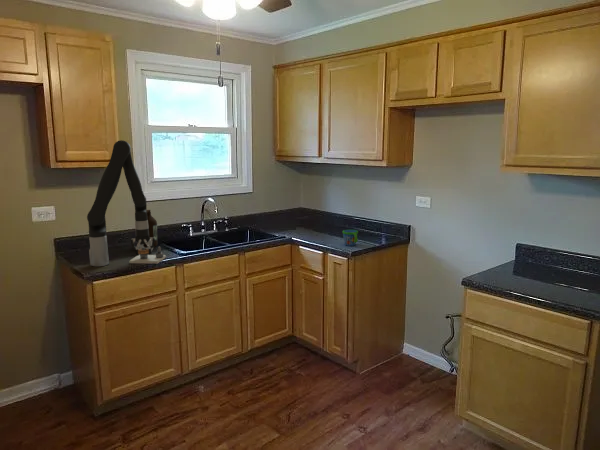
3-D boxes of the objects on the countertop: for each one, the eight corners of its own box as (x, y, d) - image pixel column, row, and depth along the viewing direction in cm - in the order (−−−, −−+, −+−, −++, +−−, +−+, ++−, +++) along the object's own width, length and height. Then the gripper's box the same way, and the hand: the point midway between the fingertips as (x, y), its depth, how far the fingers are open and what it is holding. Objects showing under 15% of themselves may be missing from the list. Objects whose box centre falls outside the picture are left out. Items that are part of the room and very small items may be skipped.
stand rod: (139, 259, 269) (138, 248, 268) (141, 257, 273) (141, 246, 272) (146, 259, 269) (145, 248, 268) (149, 257, 273) (148, 247, 272)
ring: (138, 254, 267) (137, 250, 266) (138, 251, 272) (138, 248, 272) (148, 253, 268) (148, 250, 268) (149, 251, 274) (148, 247, 274)
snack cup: (338, 243, 316) (338, 229, 314) (352, 242, 319) (352, 228, 317) (347, 248, 301) (348, 233, 299) (361, 247, 305) (362, 232, 303)
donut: (154, 251, 292) (153, 237, 290) (154, 253, 289) (153, 238, 287) (138, 253, 288) (136, 238, 286) (138, 254, 285) (137, 239, 283)
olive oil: (140, 247, 304) (137, 211, 299) (145, 243, 314) (142, 208, 310) (155, 247, 304) (153, 211, 299) (160, 243, 315) (158, 208, 310)
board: (129, 263, 266) (129, 260, 265) (139, 257, 279) (138, 254, 279) (157, 263, 265) (157, 261, 265) (165, 257, 279) (165, 255, 278)
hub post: (154, 258, 272) (154, 247, 270) (157, 256, 276) (156, 245, 275) (161, 258, 271) (161, 247, 270) (164, 256, 276) (163, 245, 274)
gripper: (128, 229, 262) (130, 257, 265) (154, 228, 266) (156, 255, 269) (129, 227, 269) (131, 254, 272) (154, 225, 273) (156, 252, 276)
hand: (143, 254), depth 271 cm, fingers closed on ring, 6 cm apart
